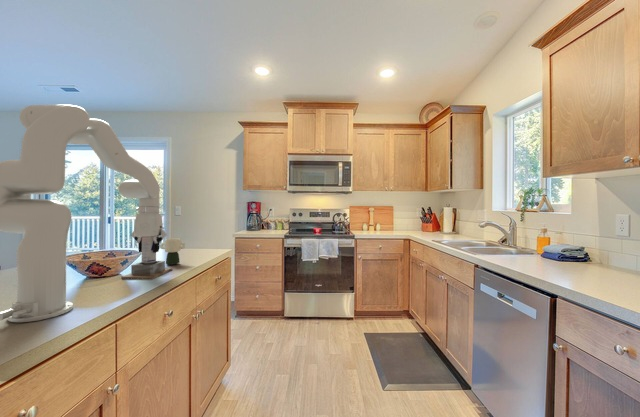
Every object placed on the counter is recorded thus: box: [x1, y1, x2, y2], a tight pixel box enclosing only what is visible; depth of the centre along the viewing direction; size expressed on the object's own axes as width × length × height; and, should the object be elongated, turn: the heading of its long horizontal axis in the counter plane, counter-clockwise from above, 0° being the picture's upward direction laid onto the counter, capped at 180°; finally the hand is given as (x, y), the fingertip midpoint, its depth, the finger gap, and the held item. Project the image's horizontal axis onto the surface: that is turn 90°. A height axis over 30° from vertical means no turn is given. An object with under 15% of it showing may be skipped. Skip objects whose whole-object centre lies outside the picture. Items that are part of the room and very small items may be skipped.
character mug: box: [160, 237, 186, 265], centre depth 138 cm, size 11×7×13 cm, turn 104°
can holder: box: [121, 260, 173, 280], centre depth 118 cm, size 16×12×5 cm
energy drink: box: [141, 237, 157, 263], centre depth 118 cm, size 5×5×12 cm
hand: (148, 251), depth 117 cm, fingers closed on energy drink, 5 cm apart
